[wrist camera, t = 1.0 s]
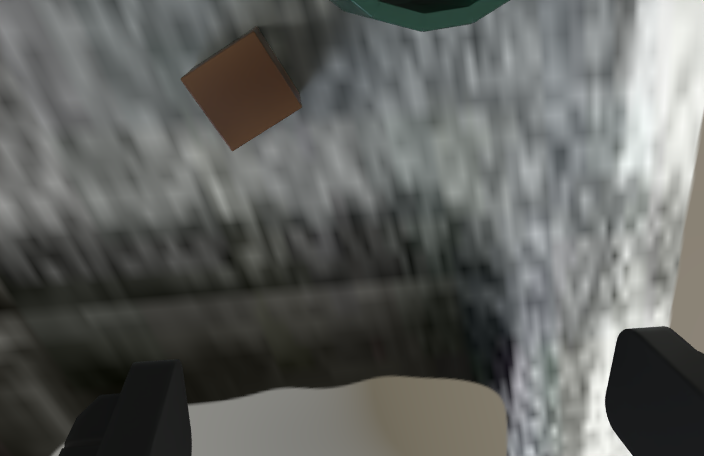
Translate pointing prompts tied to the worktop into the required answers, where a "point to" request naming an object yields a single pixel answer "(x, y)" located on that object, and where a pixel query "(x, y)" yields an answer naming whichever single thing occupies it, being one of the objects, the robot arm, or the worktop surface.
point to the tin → (421, 11)
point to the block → (243, 89)
